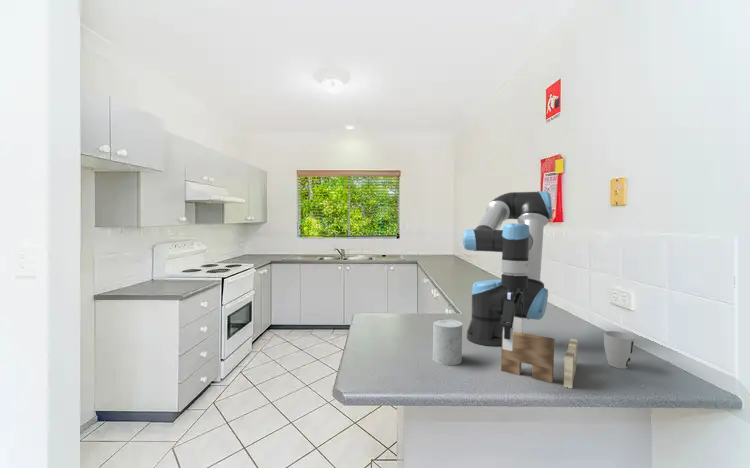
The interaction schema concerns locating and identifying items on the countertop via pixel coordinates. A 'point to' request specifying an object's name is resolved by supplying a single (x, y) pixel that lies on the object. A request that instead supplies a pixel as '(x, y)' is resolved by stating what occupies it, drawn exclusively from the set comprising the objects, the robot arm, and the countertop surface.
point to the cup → (618, 348)
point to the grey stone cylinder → (447, 341)
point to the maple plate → (570, 363)
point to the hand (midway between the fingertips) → (512, 343)
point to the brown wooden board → (530, 356)
